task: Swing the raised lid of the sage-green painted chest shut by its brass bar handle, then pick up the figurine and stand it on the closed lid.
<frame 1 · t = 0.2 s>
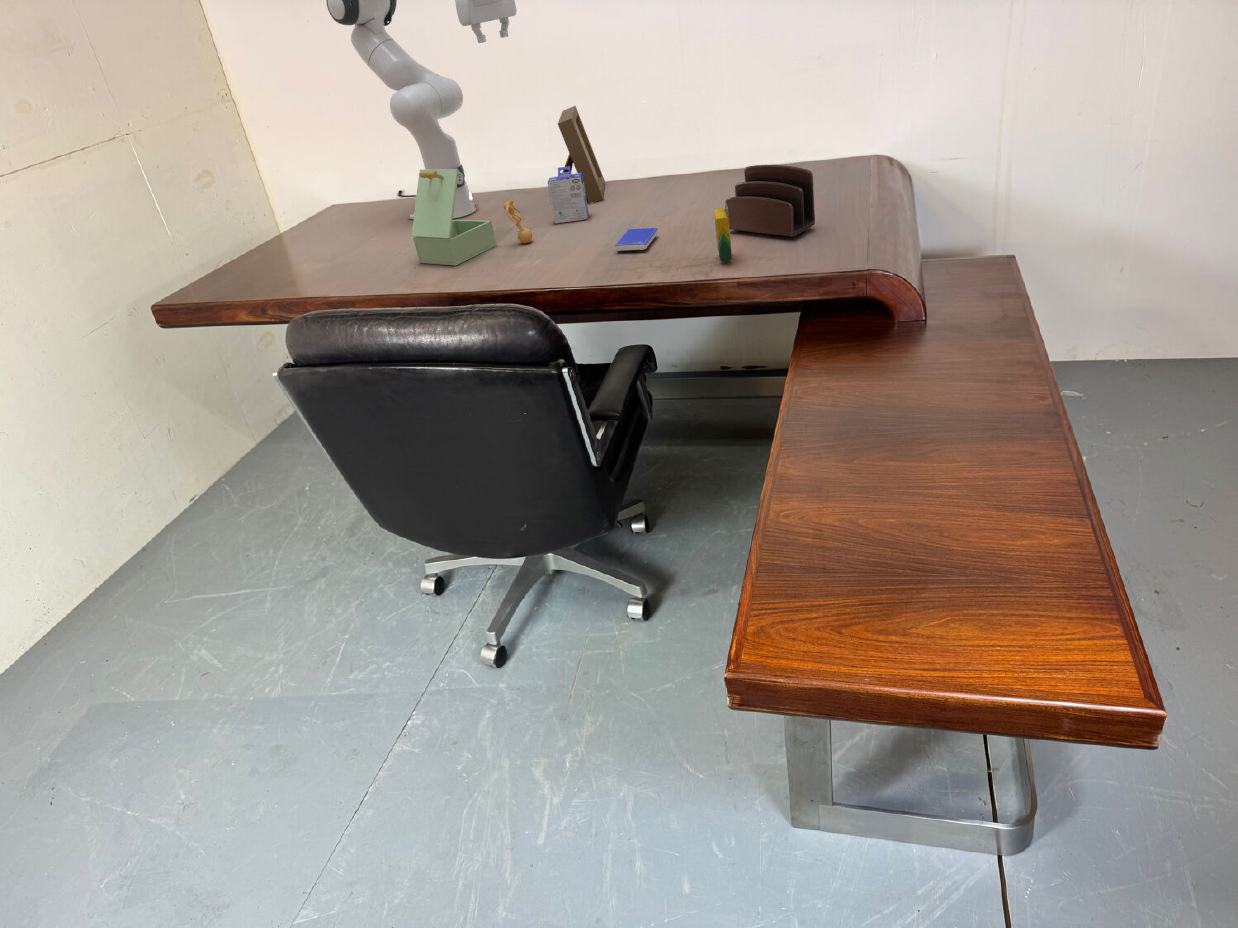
hand: (493, 40, 228), 48 cm above the table, tool pointing down, fingers open, 8 cm apart
letter holder: (770, 228, 209), on the table
chest lid: (429, 201, 218), point 16 cm above the table, hinge at 60.0°
crayon box: (724, 255, 196), on the table
ink cartridge box: (572, 220, 244), on the table
figurine: (522, 244, 230), on the table
photo frame: (581, 196, 266), on the table
chest: (458, 254, 229), on the table
hard drive: (637, 242, 215), on the table
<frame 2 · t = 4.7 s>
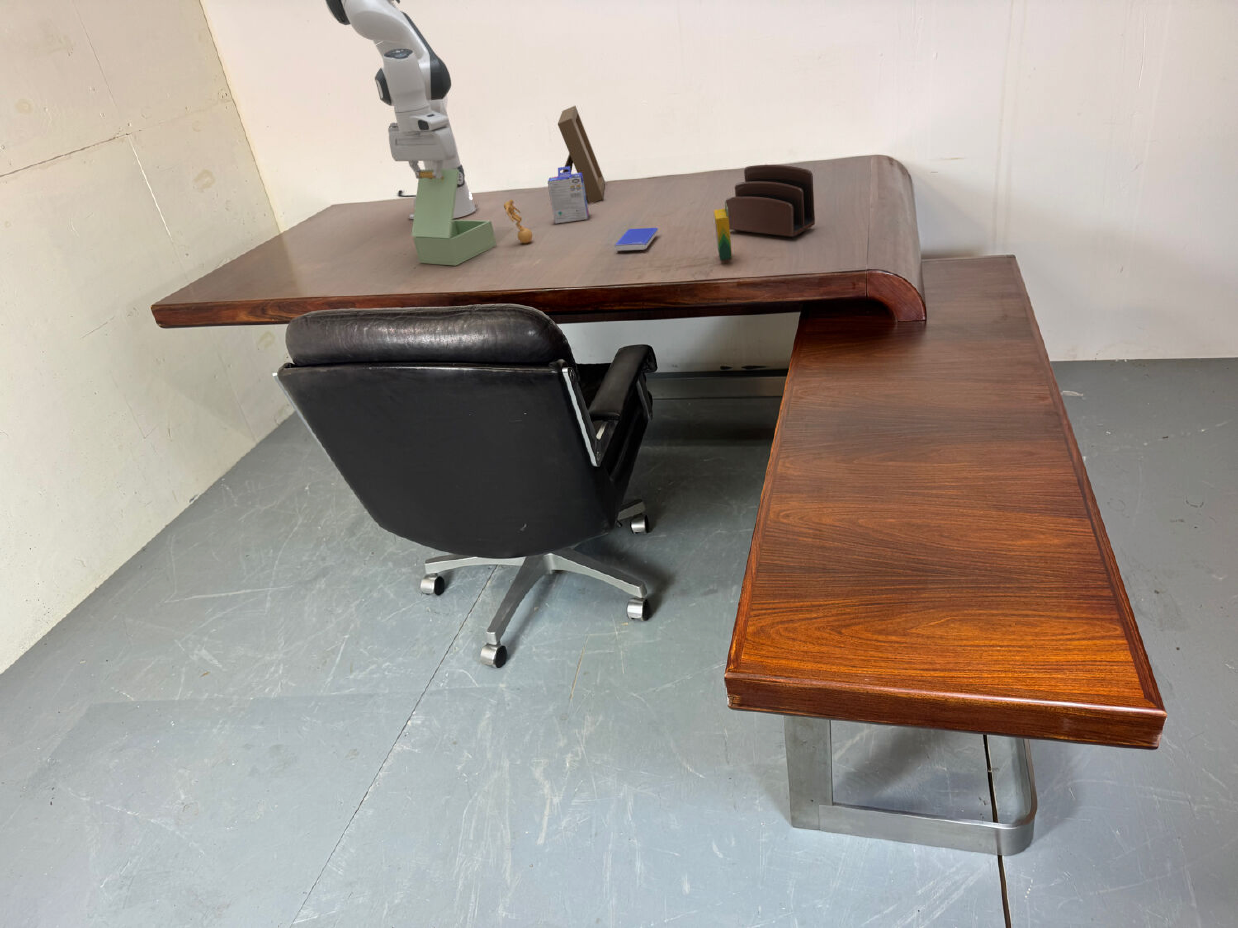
hand: (429, 178, 216), 21 cm above the table, tool pointing down, fingers closed on chest lid, 5 cm apart
chest lid: (429, 201, 218), point 16 cm above the table, hinge at 59.9°, touching gripper
everything else where it was.
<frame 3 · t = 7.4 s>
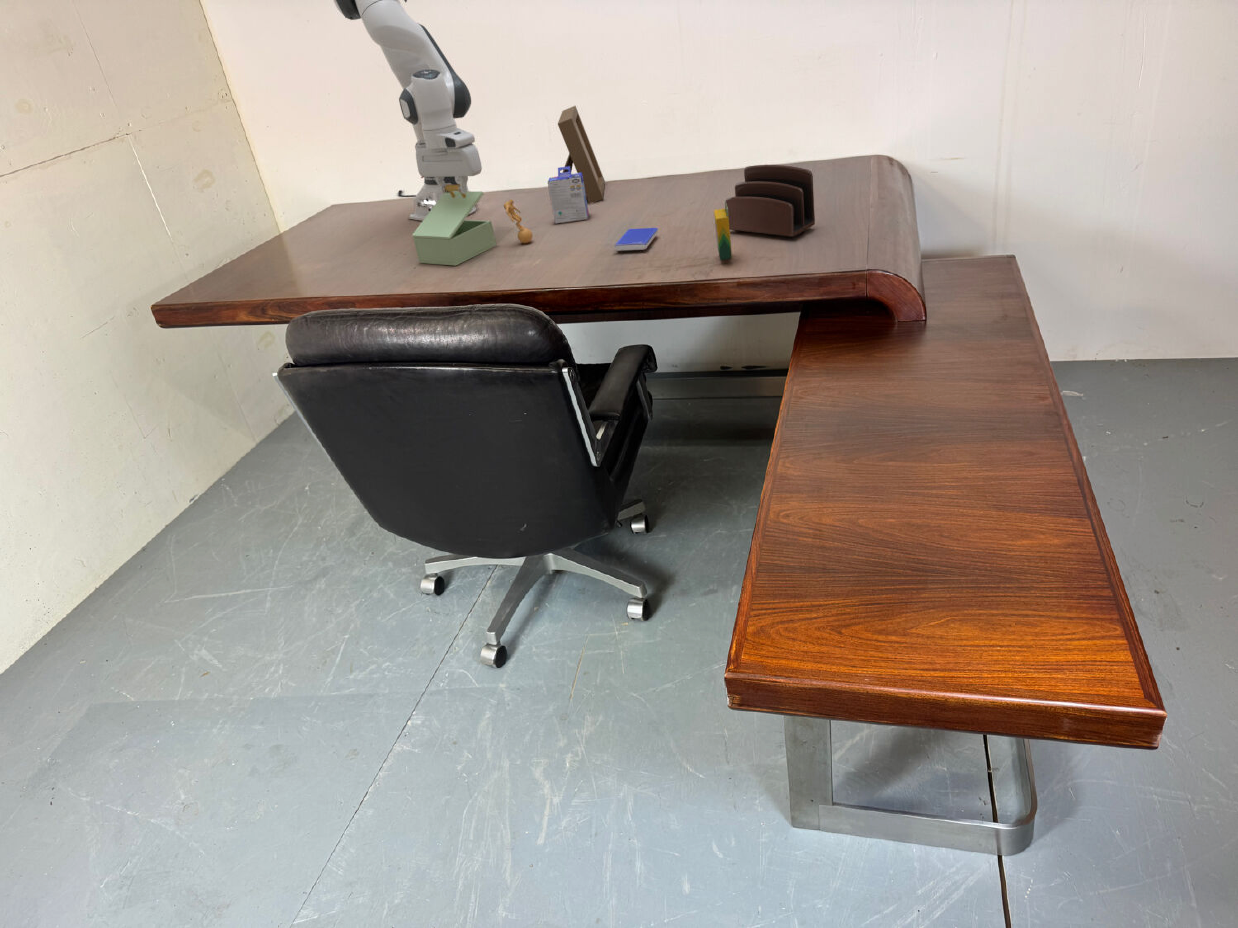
hand: (455, 193, 224), 15 cm above the table, tool pointing down, fingers closed on chest lid, 5 cm apart
chest lid: (444, 209, 222), point 13 cm above the table, hinge at 24.8°, touching gripper
everything else where it was.
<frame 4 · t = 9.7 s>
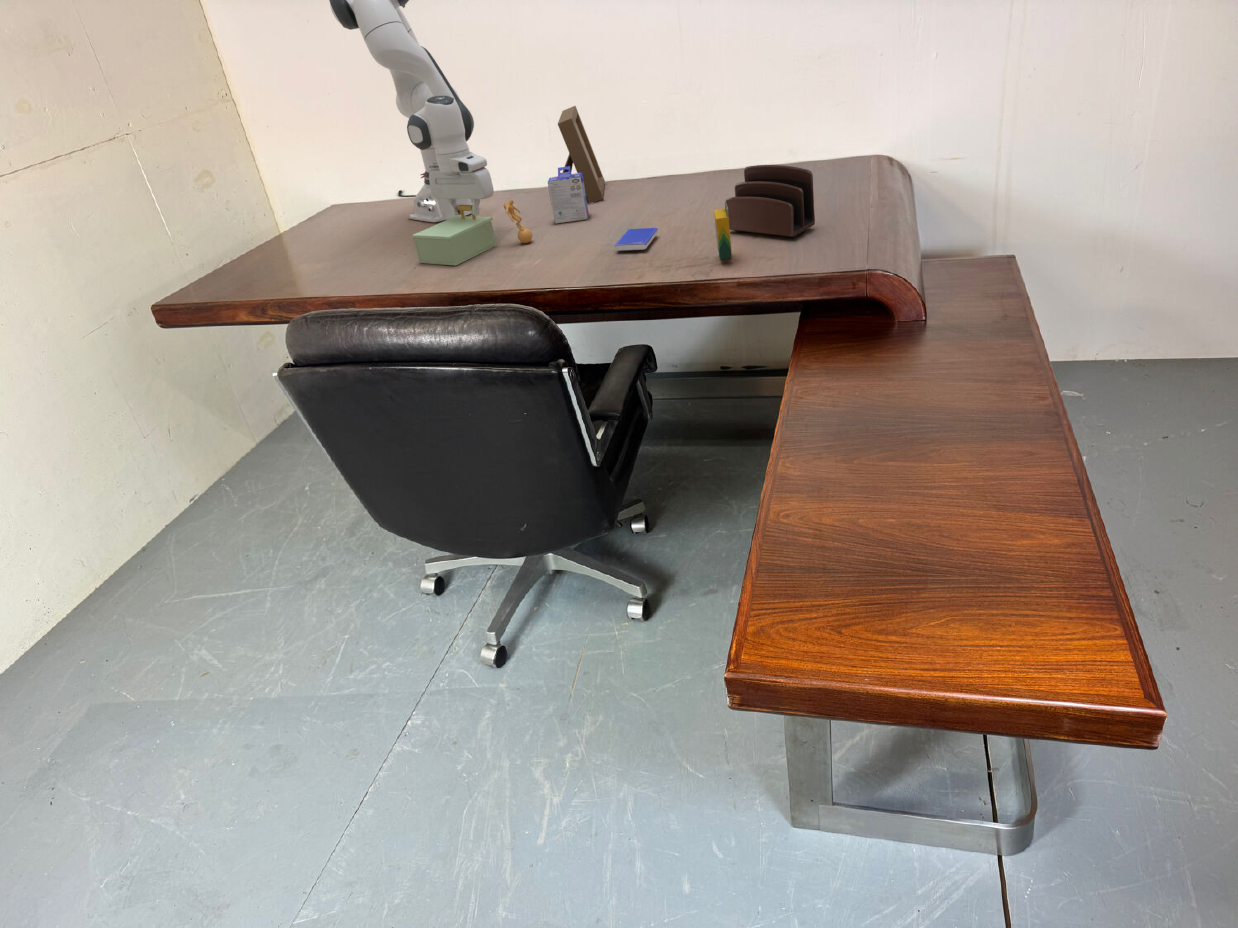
hand: (467, 214, 229), 9 cm above the table, tool pointing down, fingers closed on chest lid, 5 cm apart
chest lid: (451, 220, 225), point 9 cm above the table, hinge at -0.2°, touching chest, gripper
everything else where it was.
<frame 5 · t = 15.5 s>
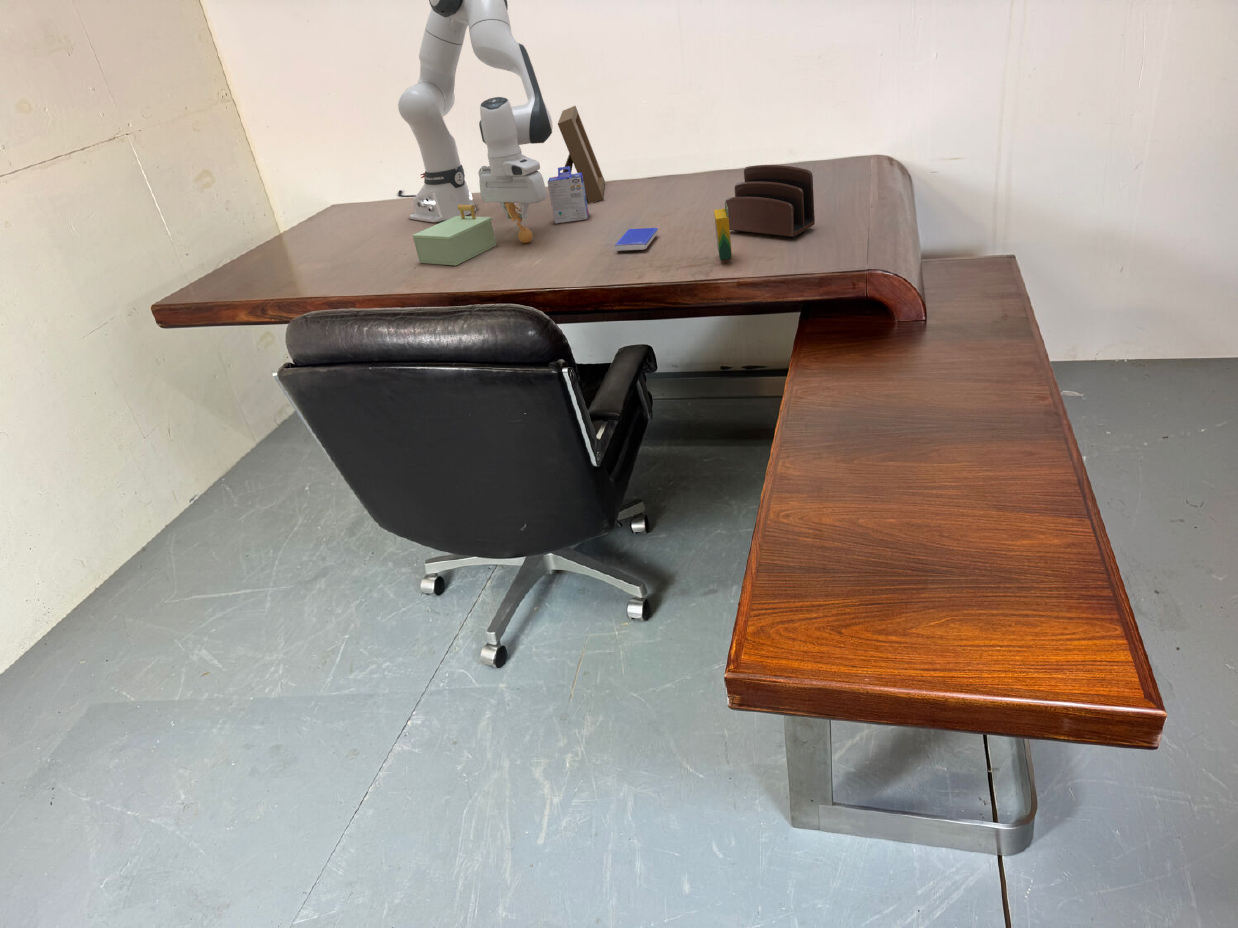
hand: (517, 218, 226), 7 cm above the table, tool pointing down, fingers closed on figurine, 3 cm apart
chest lid: (451, 220, 225), point 9 cm above the table, hinge at -0.2°
figurine: (522, 243, 230), on the table, touching gripper
everything else where it was.
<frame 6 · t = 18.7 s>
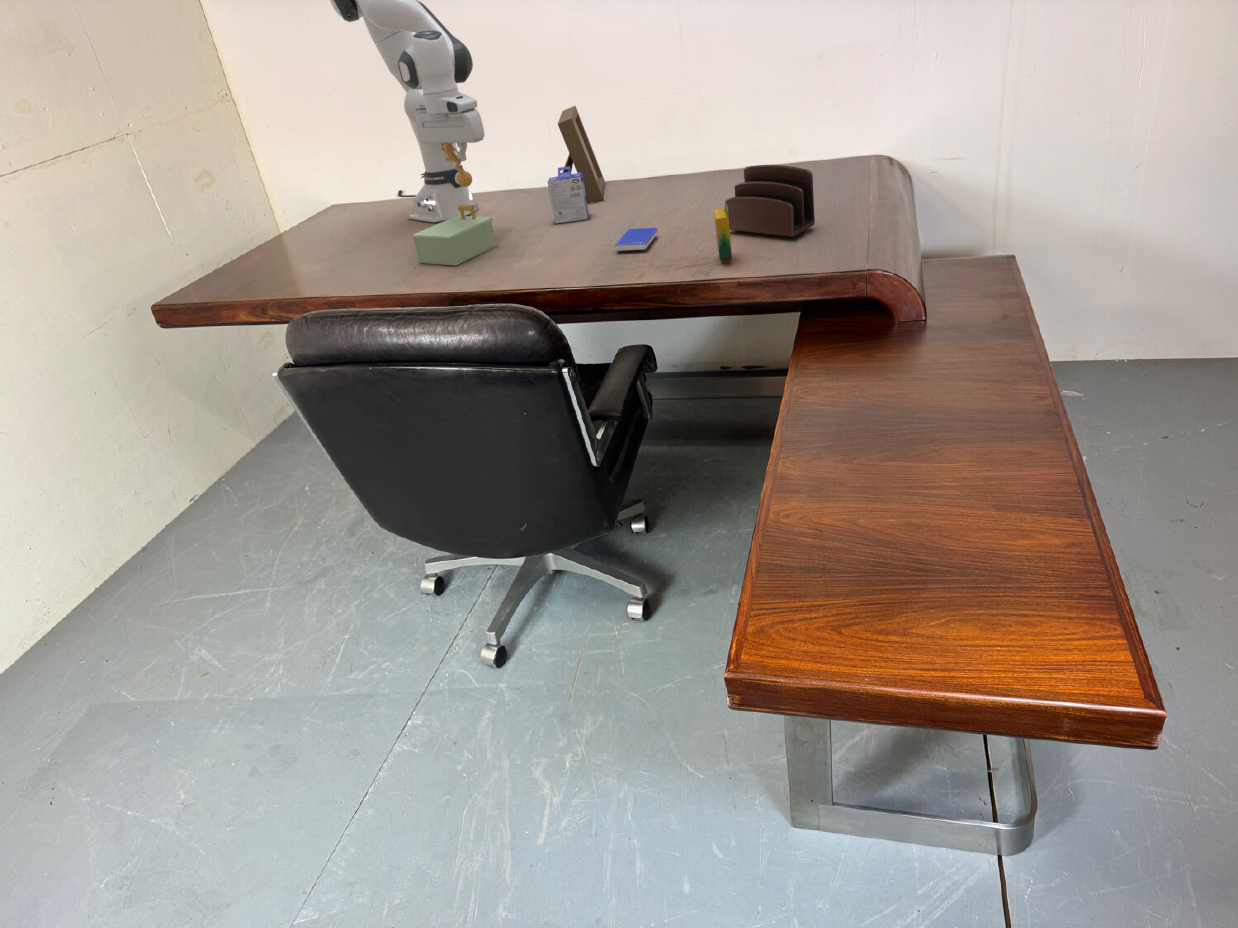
hand: (456, 161, 217), 24 cm above the table, tool pointing down, fingers closed on figurine, 3 cm apart
figurine: (462, 187, 220), point 17 cm above the table, touching gripper
everything else where it was.
when the fingers open (14 cm above the table, at t = 22.3 s): figurine stays where it is, resting on chest lid.
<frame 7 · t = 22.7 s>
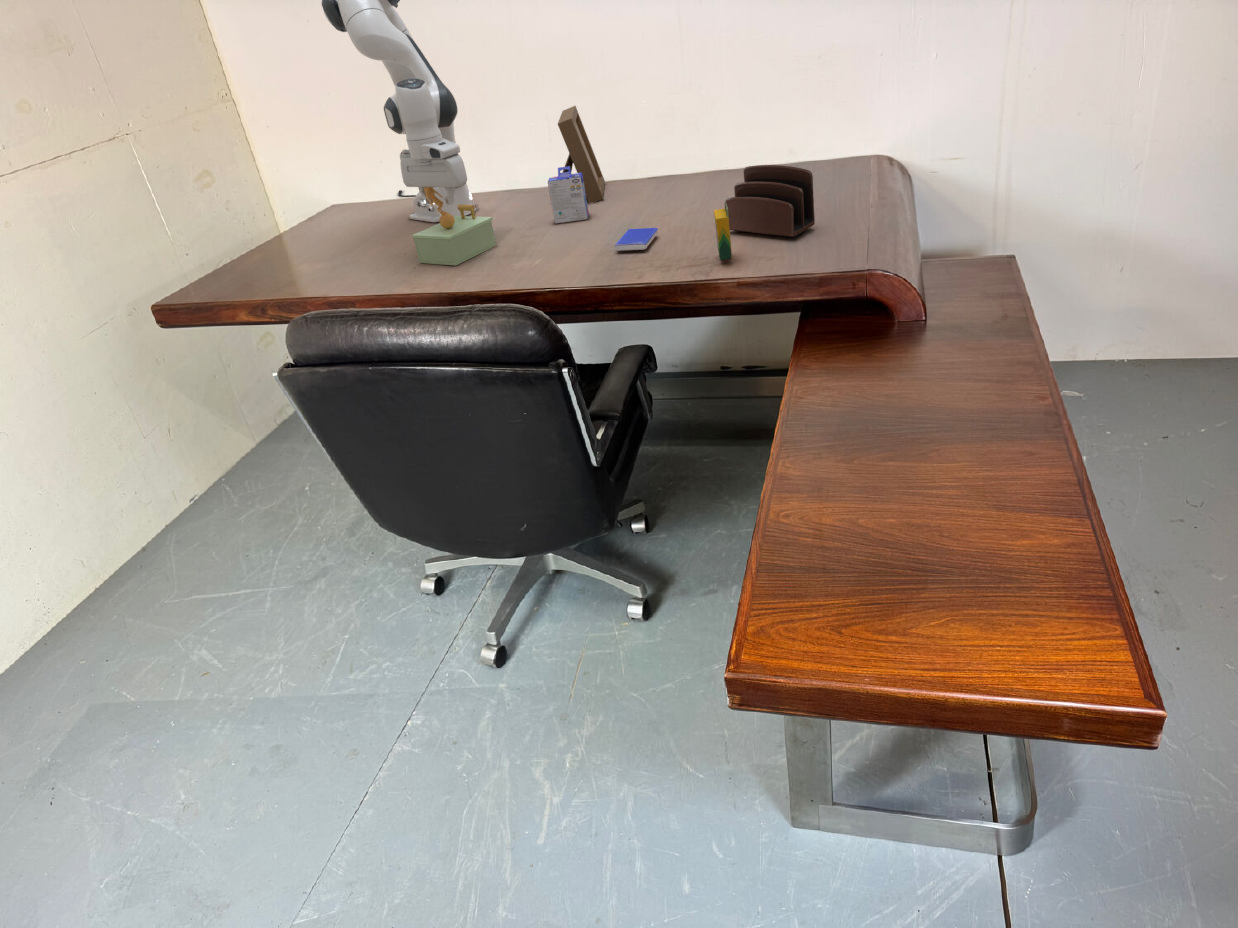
hand: (440, 203, 221), 14 cm above the table, tool pointing down, fingers open, 6 cm apart
chest lid: (451, 220, 225), point 9 cm above the table, hinge at -0.2°, touching chest, figurine
figurine: (445, 229, 225), point 7 cm above the table, touching chest lid
everything else where it was.
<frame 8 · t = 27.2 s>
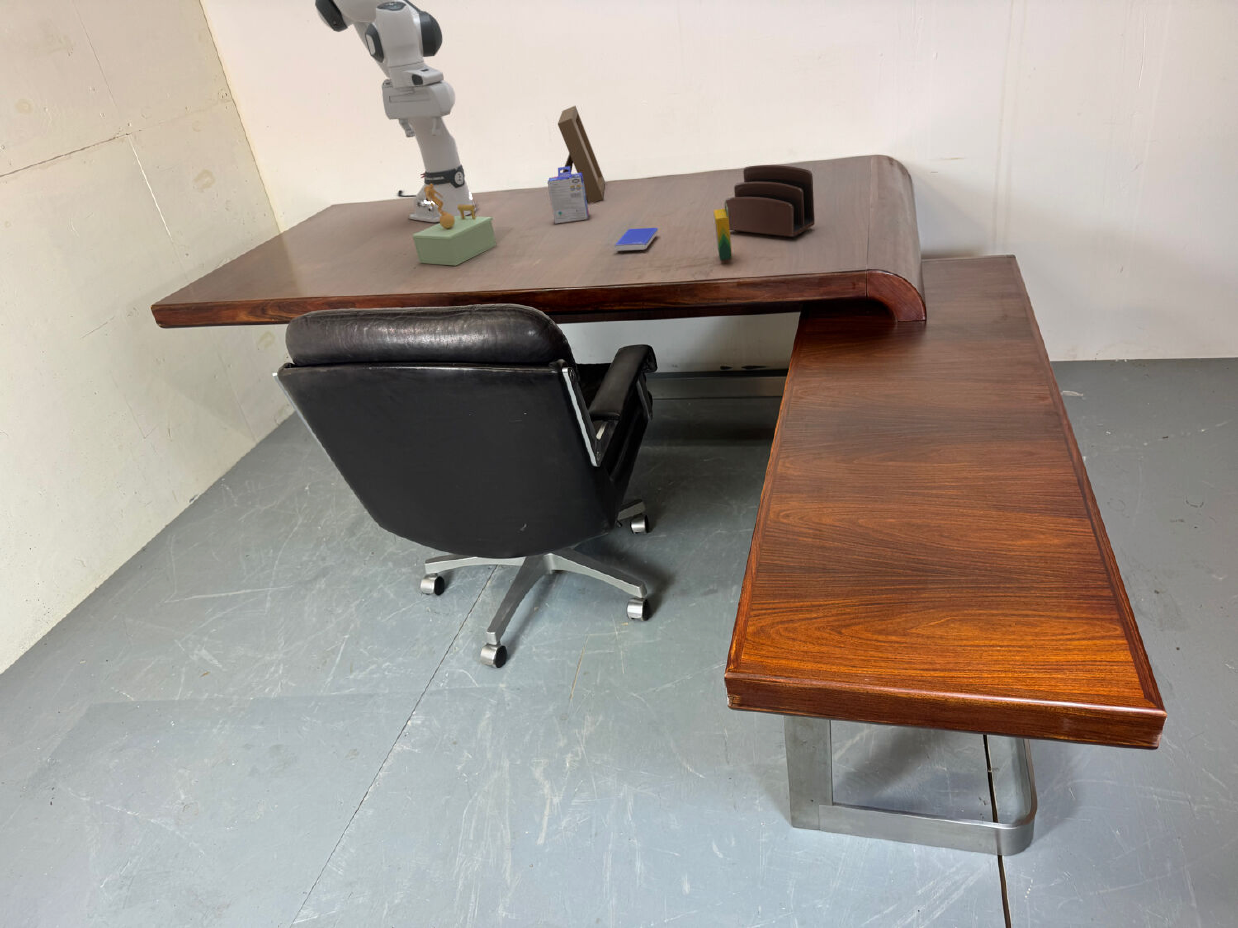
hand: (424, 136, 212), 31 cm above the table, tool pointing down, fingers open, 8 cm apart
nothing on the table moved.
at the end: chest lid at +0° (first picture: +60°); figurine inside the target area on the chest (0.4 cm from its centre), point 7.4 cm above the chest's base; figurine tilted 0° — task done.
